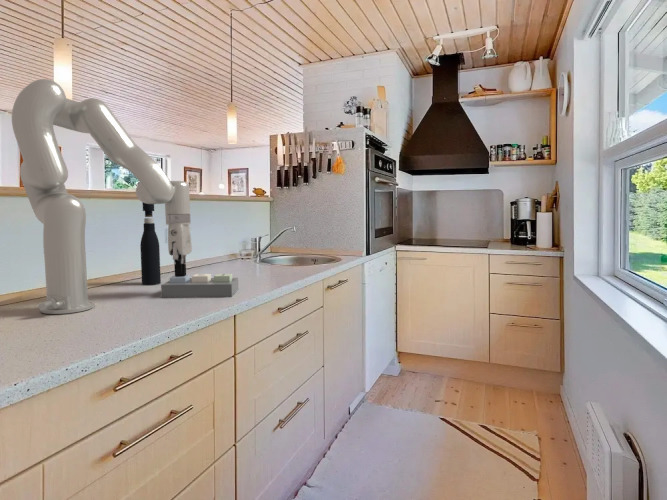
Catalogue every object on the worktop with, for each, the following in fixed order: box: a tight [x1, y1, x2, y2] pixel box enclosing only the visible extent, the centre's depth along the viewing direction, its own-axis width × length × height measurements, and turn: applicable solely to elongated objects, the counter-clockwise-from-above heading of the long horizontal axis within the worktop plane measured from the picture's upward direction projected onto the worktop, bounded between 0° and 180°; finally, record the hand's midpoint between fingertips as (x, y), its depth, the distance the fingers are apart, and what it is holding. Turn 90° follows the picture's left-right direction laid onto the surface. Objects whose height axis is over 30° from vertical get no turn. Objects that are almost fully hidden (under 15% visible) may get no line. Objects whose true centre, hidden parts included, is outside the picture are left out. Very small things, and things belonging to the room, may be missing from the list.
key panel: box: [160, 277, 239, 299], centre depth 139 cm, size 13×22×4 cm, turn 94°
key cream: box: [191, 273, 212, 283], centre depth 138 cm, size 5×5×3 cm
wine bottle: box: [139, 202, 162, 286], centre depth 155 cm, size 6×6×30 cm
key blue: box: [169, 274, 191, 283], centre depth 138 cm, size 5×5×3 cm
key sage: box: [213, 273, 233, 283], centre depth 139 cm, size 5×5×3 cm
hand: (180, 275), depth 138 cm, fingers closed
